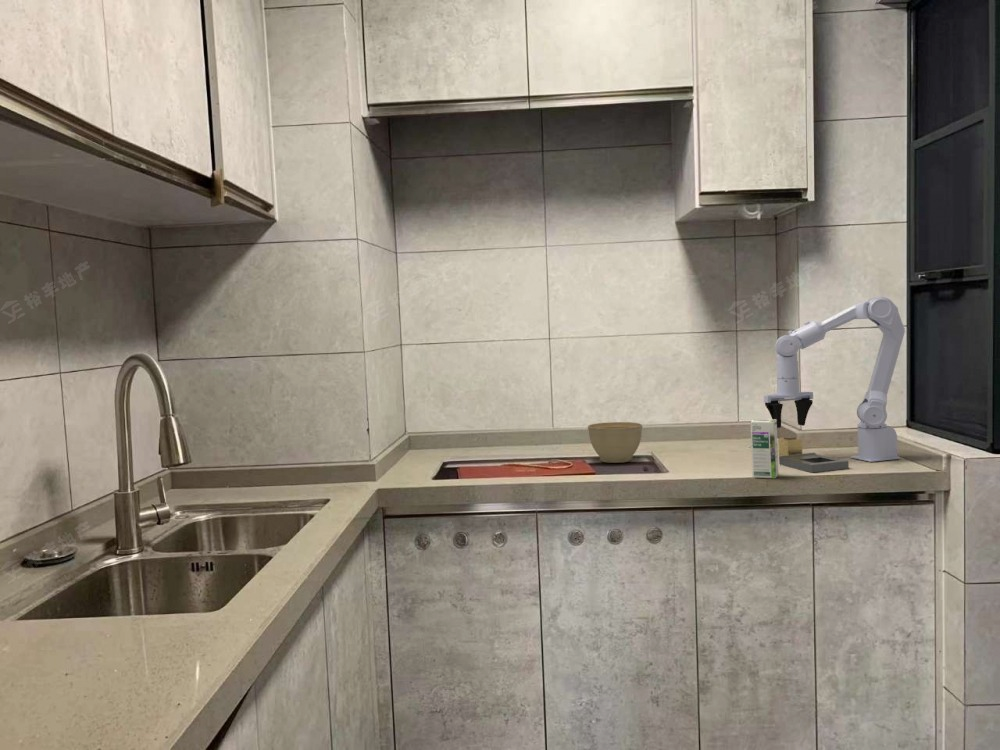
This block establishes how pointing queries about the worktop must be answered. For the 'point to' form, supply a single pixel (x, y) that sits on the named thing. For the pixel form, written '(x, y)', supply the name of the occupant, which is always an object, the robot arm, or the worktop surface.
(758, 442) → the syrup box
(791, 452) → the block
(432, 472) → the worktop surface
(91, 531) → the worktop surface
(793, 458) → the rail plate
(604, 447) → the planter bowl
